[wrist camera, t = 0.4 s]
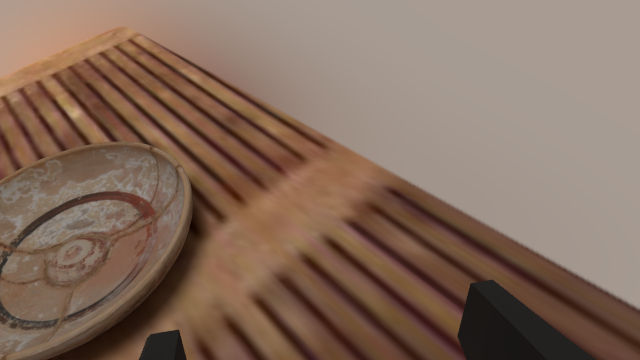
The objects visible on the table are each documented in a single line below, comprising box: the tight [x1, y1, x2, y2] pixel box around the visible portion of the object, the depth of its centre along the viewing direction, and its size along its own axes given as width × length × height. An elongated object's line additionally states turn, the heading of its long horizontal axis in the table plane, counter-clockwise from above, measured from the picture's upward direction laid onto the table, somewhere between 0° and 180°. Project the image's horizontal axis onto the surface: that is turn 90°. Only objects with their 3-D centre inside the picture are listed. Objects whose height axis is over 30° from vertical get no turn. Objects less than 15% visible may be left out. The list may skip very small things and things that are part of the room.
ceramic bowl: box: [0, 142, 193, 360], centre depth 40 cm, size 23×24×5 cm
